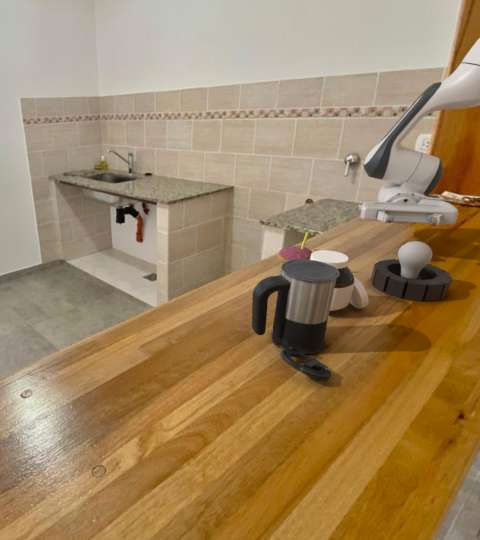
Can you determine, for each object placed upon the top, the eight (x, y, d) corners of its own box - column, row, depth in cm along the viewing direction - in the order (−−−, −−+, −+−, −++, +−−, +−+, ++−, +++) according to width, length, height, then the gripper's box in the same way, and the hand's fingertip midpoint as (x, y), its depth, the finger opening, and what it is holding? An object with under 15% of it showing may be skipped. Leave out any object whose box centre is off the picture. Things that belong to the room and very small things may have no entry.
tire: (436, 278, 91) (441, 263, 89) (453, 306, 79) (459, 288, 78) (368, 270, 96) (371, 256, 95) (374, 295, 85) (378, 279, 83)
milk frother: (298, 322, 77) (309, 254, 71) (371, 368, 63) (391, 289, 57) (240, 340, 73) (246, 270, 66) (304, 393, 59) (319, 311, 53)
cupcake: (313, 269, 99) (321, 225, 94) (310, 282, 92) (317, 236, 87) (278, 264, 103) (284, 221, 98) (272, 276, 97) (278, 231, 92)
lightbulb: (396, 292, 86) (408, 246, 81) (385, 280, 91) (396, 237, 87) (427, 293, 84) (441, 247, 80) (415, 281, 90) (427, 237, 85)
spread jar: (288, 301, 85) (295, 252, 80) (322, 288, 89) (331, 241, 85) (338, 326, 75) (350, 272, 70) (374, 310, 80) (387, 258, 75)
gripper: (359, 193, 107) (364, 206, 96) (451, 197, 99) (468, 211, 87) (355, 215, 110) (359, 230, 98) (444, 220, 101) (459, 237, 90)
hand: (411, 221), depth 93 cm, fingers open, 8 cm apart
